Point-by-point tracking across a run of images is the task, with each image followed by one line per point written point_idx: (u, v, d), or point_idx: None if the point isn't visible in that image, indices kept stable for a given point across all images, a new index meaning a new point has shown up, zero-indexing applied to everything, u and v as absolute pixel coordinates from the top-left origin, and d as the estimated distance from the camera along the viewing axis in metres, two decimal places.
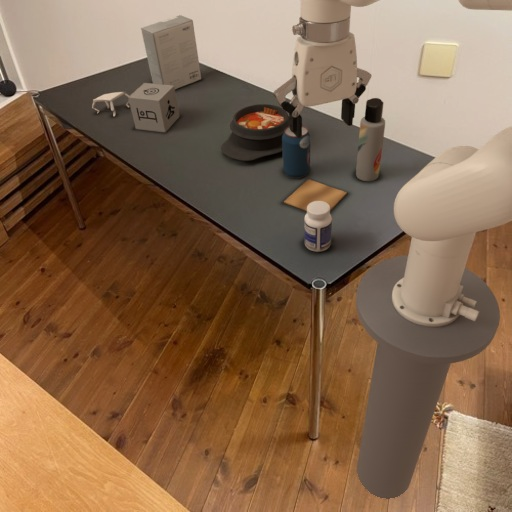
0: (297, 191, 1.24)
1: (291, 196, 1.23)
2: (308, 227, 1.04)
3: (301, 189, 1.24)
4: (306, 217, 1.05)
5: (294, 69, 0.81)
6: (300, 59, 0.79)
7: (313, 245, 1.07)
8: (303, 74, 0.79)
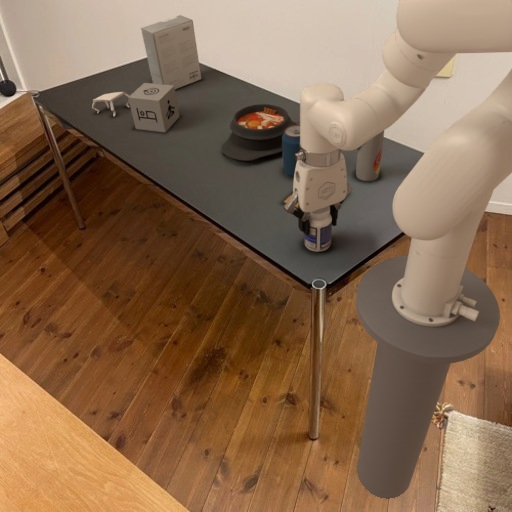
0: None
1: None
2: None
3: None
4: None
5: (295, 184, 0.97)
6: (301, 178, 0.95)
7: (313, 245, 1.07)
8: (304, 190, 0.95)
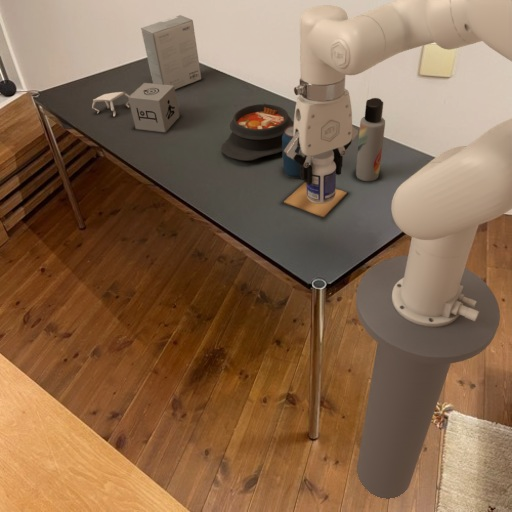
0: (297, 191, 1.24)
1: (291, 196, 1.23)
2: None
3: (301, 189, 1.24)
4: None
5: (296, 124, 0.89)
6: (302, 116, 0.86)
7: (316, 196, 0.99)
8: (306, 129, 0.87)
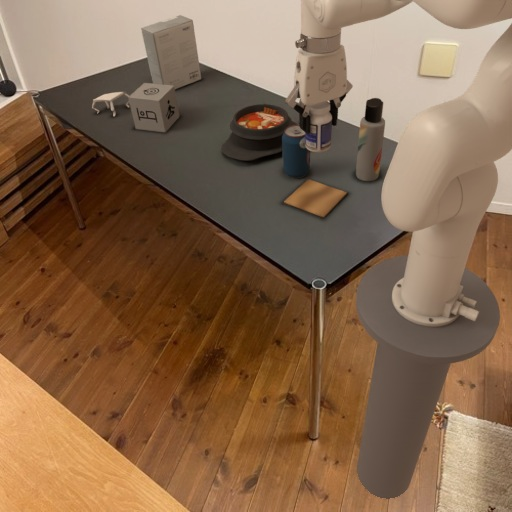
0: (297, 191, 1.24)
1: (291, 196, 1.23)
2: None
3: (301, 189, 1.24)
4: None
5: (296, 75, 1.00)
6: (302, 67, 0.97)
7: (313, 145, 1.09)
8: (305, 79, 0.98)
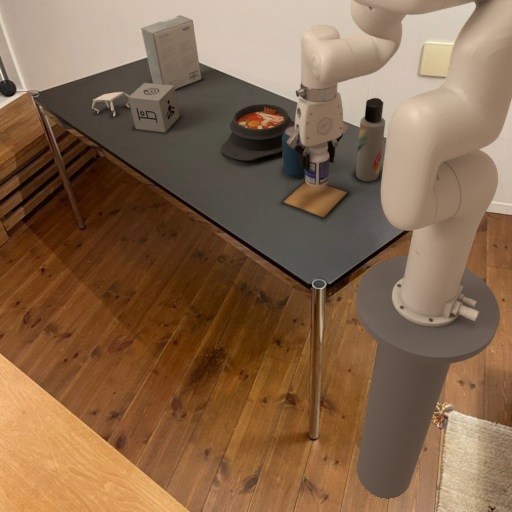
0: (297, 191, 1.24)
1: (291, 196, 1.23)
2: None
3: (301, 189, 1.24)
4: None
5: (297, 120, 1.09)
6: (302, 114, 1.06)
7: (312, 180, 1.18)
8: (305, 124, 1.07)
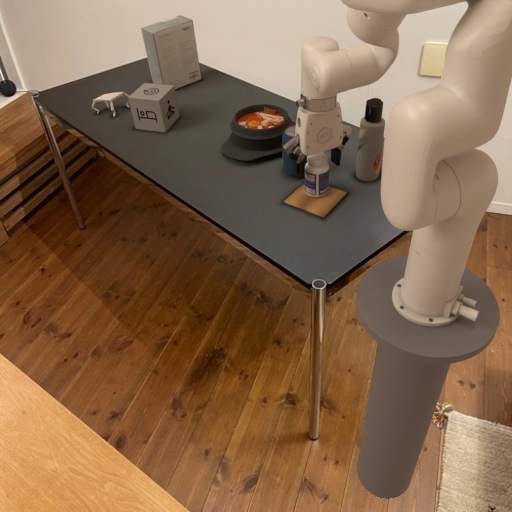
0: (297, 191, 1.24)
1: (291, 196, 1.23)
2: (308, 174, 1.18)
3: (301, 189, 1.24)
4: (306, 165, 1.18)
5: (297, 129, 1.10)
6: (302, 123, 1.08)
7: (312, 191, 1.20)
8: (305, 134, 1.08)
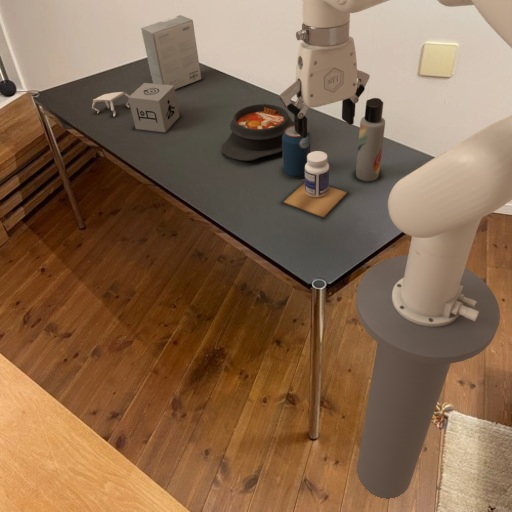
0: (297, 191, 1.24)
1: (291, 196, 1.23)
2: (308, 174, 1.18)
3: (301, 189, 1.24)
4: (306, 165, 1.18)
5: (298, 73, 0.86)
6: (304, 63, 0.83)
7: (312, 191, 1.20)
8: (308, 77, 0.84)
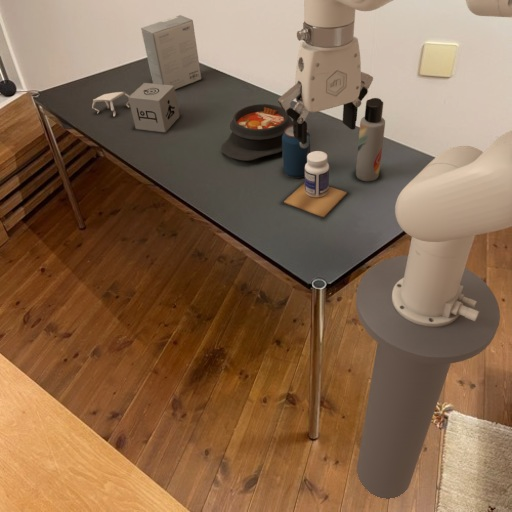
0: (297, 191, 1.24)
1: (291, 196, 1.23)
2: (308, 174, 1.18)
3: (301, 189, 1.24)
4: (306, 165, 1.18)
5: (298, 75, 0.80)
6: (306, 65, 0.77)
7: (312, 191, 1.20)
8: (309, 80, 0.78)
